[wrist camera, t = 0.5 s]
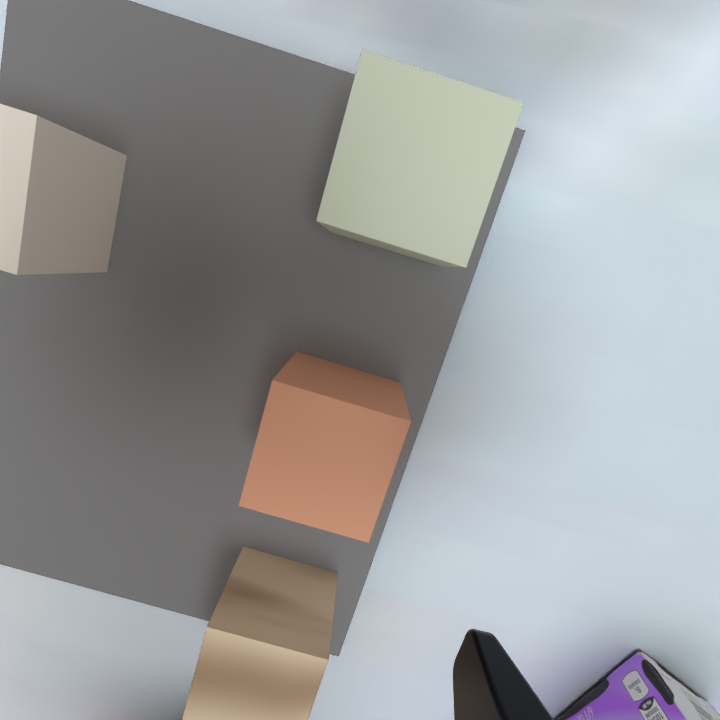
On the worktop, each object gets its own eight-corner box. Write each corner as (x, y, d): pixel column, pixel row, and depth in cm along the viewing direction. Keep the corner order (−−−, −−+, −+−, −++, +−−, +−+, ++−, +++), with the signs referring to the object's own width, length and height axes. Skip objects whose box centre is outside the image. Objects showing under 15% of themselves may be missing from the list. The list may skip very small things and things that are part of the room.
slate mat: (339, 648, 24) (338, 656, 23) (-42, 544, 23) (-51, 550, 22) (521, 134, 18) (525, 130, 18) (21, -30, 17) (11, -38, 17)
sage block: (441, 266, 19) (466, 267, 14) (330, 232, 19) (315, 221, 14) (481, 147, 18) (523, 102, 13) (364, 109, 18) (362, 48, 13)
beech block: (311, 650, 23) (296, 752, 18) (221, 625, 23) (181, 722, 18) (337, 573, 22) (328, 660, 17) (243, 546, 22) (206, 626, 17)
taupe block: (107, 272, 19) (17, 274, 14) (-5, 238, 19) (-135, 229, 14) (127, 155, 18) (37, 115, 13) (8, 118, 18) (-127, 63, 13)
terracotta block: (369, 478, 21) (368, 542, 16) (269, 449, 21) (238, 505, 16) (401, 383, 20) (411, 421, 15) (296, 351, 20) (272, 380, 15)
